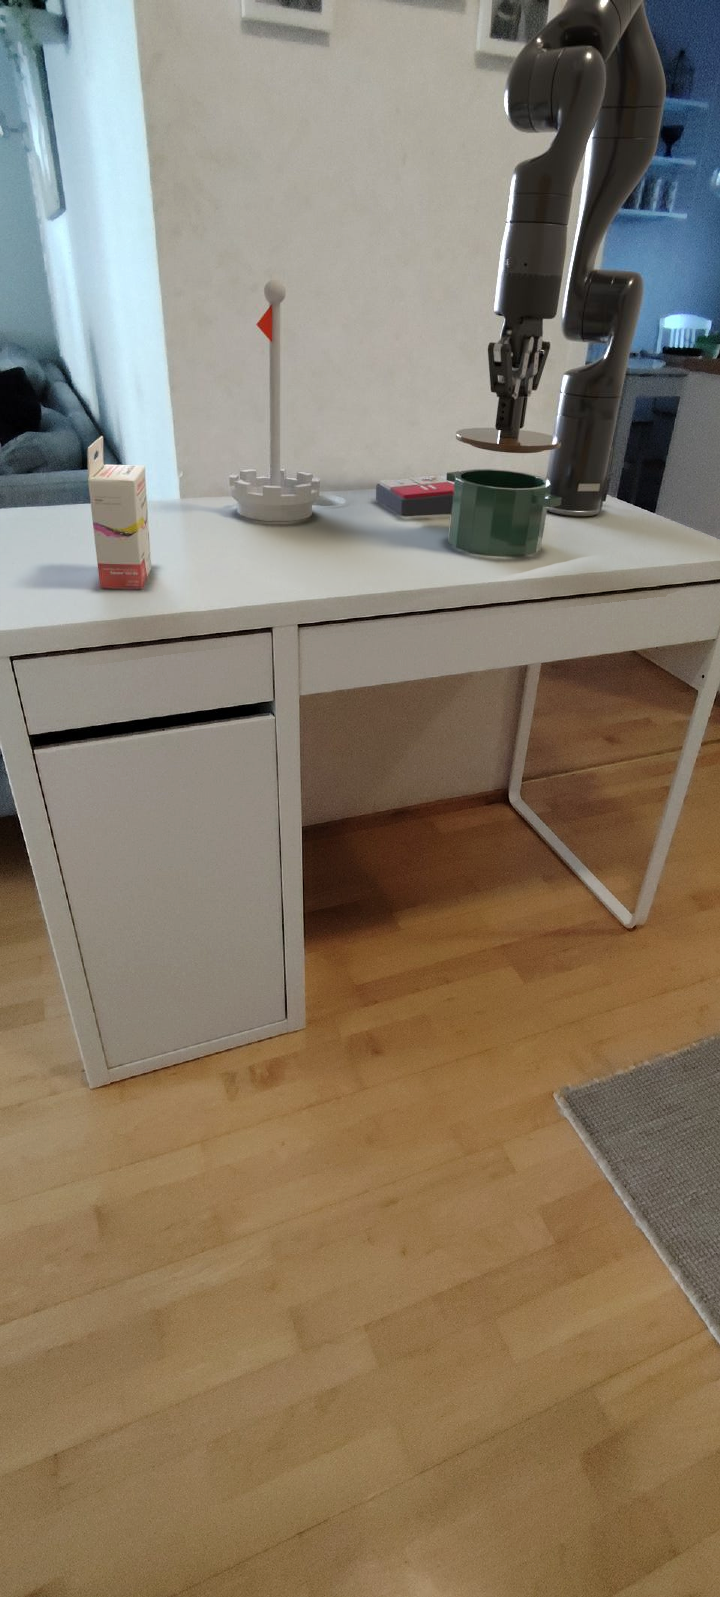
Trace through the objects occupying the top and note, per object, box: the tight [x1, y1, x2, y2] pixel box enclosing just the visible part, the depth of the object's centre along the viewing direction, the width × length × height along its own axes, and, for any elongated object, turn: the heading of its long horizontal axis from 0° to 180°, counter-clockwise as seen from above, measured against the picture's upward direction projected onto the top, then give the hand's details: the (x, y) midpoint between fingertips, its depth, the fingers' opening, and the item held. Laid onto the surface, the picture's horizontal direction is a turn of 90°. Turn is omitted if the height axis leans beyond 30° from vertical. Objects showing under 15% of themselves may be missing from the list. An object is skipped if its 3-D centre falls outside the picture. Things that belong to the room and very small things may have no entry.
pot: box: [446, 468, 561, 558], centre depth 114 cm, size 13×18×9 cm
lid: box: [454, 395, 562, 454], centre depth 108 cm, size 14×14×6 cm
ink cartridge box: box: [87, 435, 153, 590], centre depth 93 cm, size 9×5×15 cm, turn 5°
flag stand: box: [229, 278, 321, 522], centre depth 117 cm, size 13×13×30 cm
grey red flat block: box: [375, 475, 454, 517], centre depth 132 cm, size 11×4×15 cm
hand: (509, 428), depth 108 cm, fingers closed on lid, 2 cm apart
